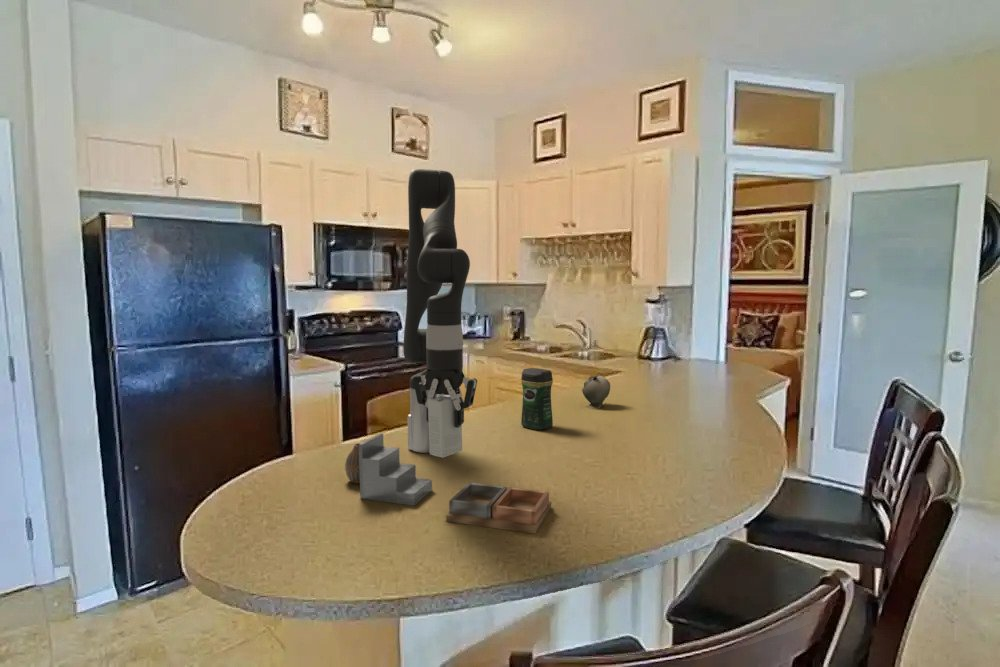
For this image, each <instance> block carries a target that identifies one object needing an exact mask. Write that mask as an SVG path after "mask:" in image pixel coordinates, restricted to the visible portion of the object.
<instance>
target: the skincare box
mask: <svg viewBox="0 0 1000 667" xmlns="http://www.w3.org/2000/svg"><path fill="white" fill-rule="evenodd" d="M455 410H456V408H455V406H454V403H453V401H452V400H451V398H450V396H449V395H446V394H444V395H443V396H439V397H435V398H433V399H428V418H429V447H430V453H429V455H432V456H434V457H437V458H446V457H449V456H451V455H454V454H457V453H459V452H462V451H463V428H462V425H463V424H462V425H461V426H460V427H459V428H456V427H455Z"/></svg>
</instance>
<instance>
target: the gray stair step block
mask: <svg viewBox="0 0 1000 667" xmlns="http://www.w3.org/2000/svg"><path fill="white" fill-rule="evenodd" d="M359 443H360V444H359V469H360V484H359V498H360V499H363V500H371V501H376V502H385V503H392V504H400V505H407V506H413V507H414V506H415V505H416V504H418V503H419V502H420V501H422V500H423V499H424V498H425V497H426V496H427V495H428V494H430V493H431V492H433V480H432V479H430V478H429V479H428V478H421V477H416V474H417V472H416V470H417V469H416V464H411V463H403V462H402V463H401V462H400V448H399V447H394V446H393V447H392V446H385V445H384V433H383V432H381V433H378V434H376V435H374V436H372V437H370V438H368V439H366V440H365V441H363V442H359Z"/></svg>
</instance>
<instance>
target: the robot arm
mask: <svg viewBox="0 0 1000 667" xmlns="http://www.w3.org/2000/svg"><path fill="white" fill-rule="evenodd" d="M407 183H408V184H407V186H408V187H407V188H408V192H407V193H408V194H407V196H408V197H407V200H408V204H407V205H408V246H407V247H408V248H407V261H406V263H407V264H406V265H407V266H406V314H405V324H404V333H403V344H402V345H403V349H402V350H403V356H404V359H405V361H406V362H407V363H410V364H421V363H423V364H426V369H425V370H423V371H421V372H418V373H416V374H413V375H412V376H411V377H410V378H409V398H410V399H409V402H410V403H409V405H410V406H409V407H410V409H409V410H410V412H409V413H410V414H407V416H406V417H407V419H406V420H407V449H408V450H410V451H413V452H415V453H425V454H426V453H429V454H430V447H429V418H428V399H433V398H435V397H439V396H443V395H449V396H450V398H451V400H452V401H453V403H454V406H455V408H456V410H455V427H456V428H459V427H460V426H461V425H463V424H464V422H465V409H468V408H469V407H471V406H473V404H474V400H475V396H476V390H477V385H478V379H477V378H475V377H474V378H469V377H466V376H465V374H464V372H463V371H464V370H463V369H464V368H463V367H464V360H463V359H464V356H463V355H464V353H463V350H464V347H463V346H464V340H463V339H464V334H463V328H462V301H463V294H464V290H465V285H466V282H467V279H468V276H469V274H470V273H469V272H470V267H471V261H470V257H469V255H468V253H467V252H466V251H465V250H464V249H461V248H458V238H457V233H456V228H455V214H456V184H455V178H454V176H453V174H452V173H451V172H450V171H447V170H441V169H424V168H423V169H422V168H414V169H412V170H411V171H410V173H409V177H408V182H407ZM423 209H427V210H428V209H429V210H430V209H431V210H433V211H432V212H431V213H429V215H428V216H427V217H426V219H425V221H424V219H423V216H422V215H423V214H422V210H423ZM443 284H451V287H450V289H449V290H448V291H447V292H444V293H440V294H439V292H440V291H441V288H442V286H443ZM425 312H426V317H427V318H426V319H427V320H426V321H427V322H426V324H427V325H426V328H419V326H420V323H421V320H422V317H423V315H424V314H425ZM462 384H464V388H465V395H464V397H463V392H462V390H461V388H460V387H461V386H462ZM463 398H464V399H463Z"/></svg>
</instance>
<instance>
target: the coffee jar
mask: <svg viewBox="0 0 1000 667" xmlns="http://www.w3.org/2000/svg"><path fill="white" fill-rule="evenodd" d="M553 378H554V377H553V373H552V371H551V370H548V369H543V368H538V367H537V368H536V367H530V368H523V370H522V372H521V378H520V379H521V380H520V382H521V386H522V406H521V420H520V423H521V426H522V427H523V428H527V429H531V430H537V431H540V430H548V429H551V428H552V427H553V424H554V422H553V420H554V419H553V409H552V394H551V393H552V386H553V383H554V379H553Z"/></svg>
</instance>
